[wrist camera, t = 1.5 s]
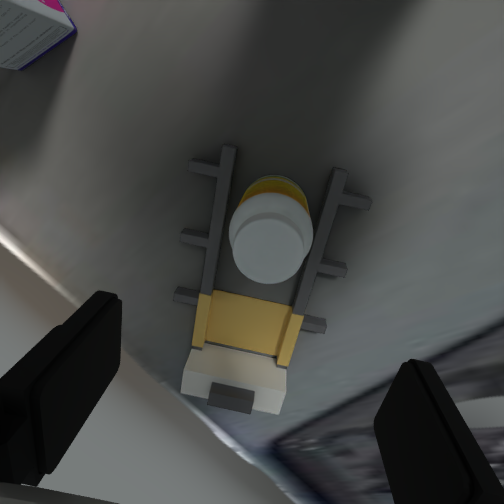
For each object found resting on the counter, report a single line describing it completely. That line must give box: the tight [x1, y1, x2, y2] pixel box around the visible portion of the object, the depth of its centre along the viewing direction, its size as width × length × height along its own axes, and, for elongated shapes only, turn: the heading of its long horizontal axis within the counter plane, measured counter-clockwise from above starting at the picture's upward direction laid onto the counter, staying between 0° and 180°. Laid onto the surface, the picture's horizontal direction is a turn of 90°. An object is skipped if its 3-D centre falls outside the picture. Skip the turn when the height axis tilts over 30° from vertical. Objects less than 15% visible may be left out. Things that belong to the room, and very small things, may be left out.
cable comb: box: [173, 144, 373, 415], centre depth 27 cm, size 22×14×5 cm, turn 169°
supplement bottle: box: [229, 175, 313, 284], centre depth 22 cm, size 5×5×10 cm
